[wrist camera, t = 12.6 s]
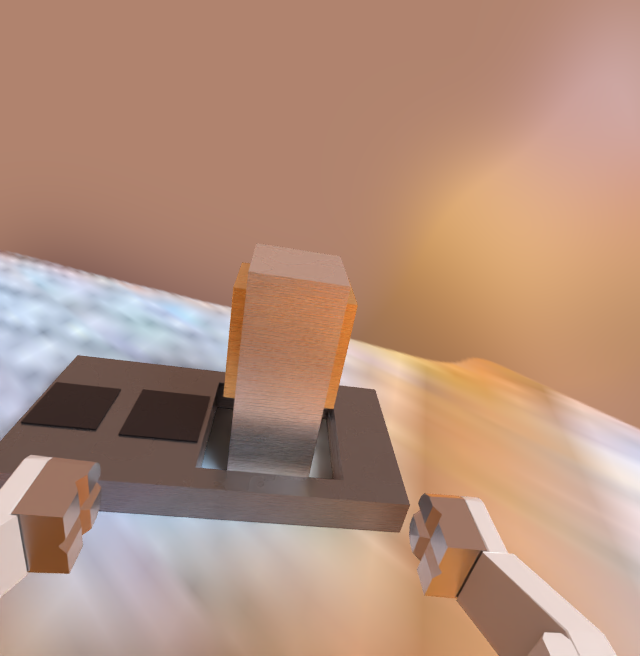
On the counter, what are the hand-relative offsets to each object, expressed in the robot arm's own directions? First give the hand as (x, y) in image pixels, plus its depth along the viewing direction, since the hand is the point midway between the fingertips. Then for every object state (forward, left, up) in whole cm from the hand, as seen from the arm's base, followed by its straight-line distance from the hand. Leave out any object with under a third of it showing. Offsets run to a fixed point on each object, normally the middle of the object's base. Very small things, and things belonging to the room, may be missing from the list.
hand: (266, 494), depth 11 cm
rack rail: (-2, +12, -10) cm, 15 cm away
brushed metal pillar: (+1, +12, -10) cm, 15 cm away
